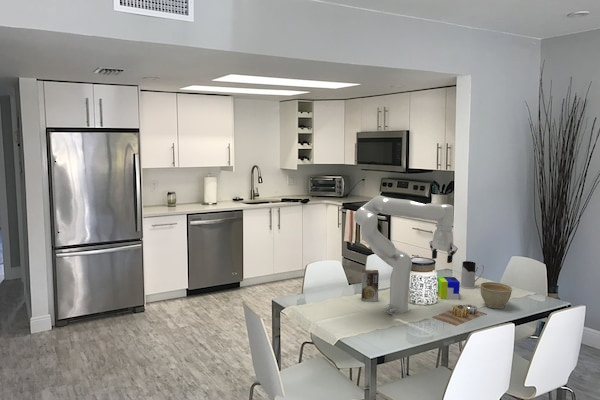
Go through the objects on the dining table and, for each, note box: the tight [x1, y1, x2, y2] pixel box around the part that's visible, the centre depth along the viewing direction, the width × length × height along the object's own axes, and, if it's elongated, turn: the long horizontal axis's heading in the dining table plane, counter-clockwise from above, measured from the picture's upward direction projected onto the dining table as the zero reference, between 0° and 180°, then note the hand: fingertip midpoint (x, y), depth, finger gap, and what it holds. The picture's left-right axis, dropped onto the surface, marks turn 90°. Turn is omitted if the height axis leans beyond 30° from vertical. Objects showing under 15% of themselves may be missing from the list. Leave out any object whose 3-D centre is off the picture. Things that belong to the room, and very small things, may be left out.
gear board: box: [431, 304, 487, 327], centre depth 255 cm, size 27×14×6 cm, turn 130°
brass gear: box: [452, 304, 468, 317], centre depth 255 cm, size 7×7×4 cm
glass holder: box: [460, 260, 485, 290], centre depth 307 cm, size 9×14×15 cm, turn 100°
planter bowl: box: [479, 281, 513, 309], centre depth 274 cm, size 16×16×11 cm
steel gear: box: [463, 303, 478, 314], centre depth 260 cm, size 7×7×3 cm
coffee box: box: [360, 269, 380, 302], centre depth 280 cm, size 9×6×16 cm
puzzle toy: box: [436, 276, 461, 300], centre depth 288 cm, size 10×10×10 cm
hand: (441, 260), depth 264 cm, fingers open, 9 cm apart
